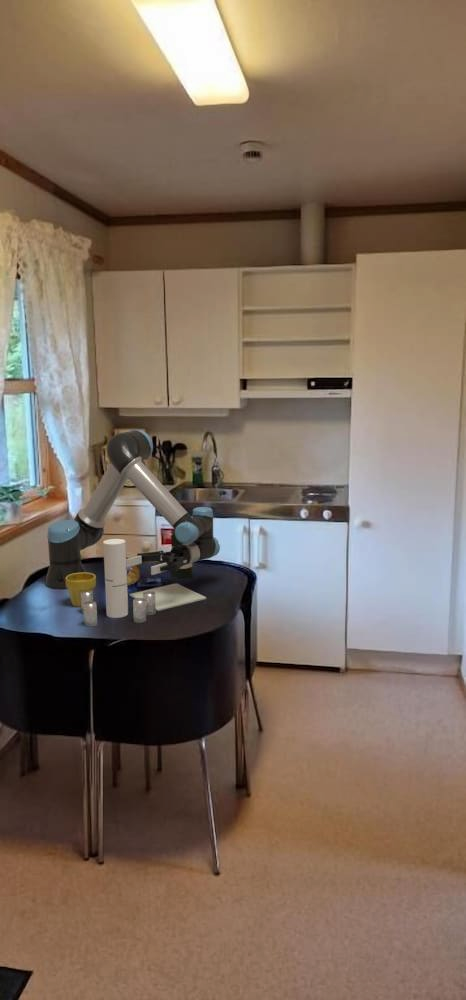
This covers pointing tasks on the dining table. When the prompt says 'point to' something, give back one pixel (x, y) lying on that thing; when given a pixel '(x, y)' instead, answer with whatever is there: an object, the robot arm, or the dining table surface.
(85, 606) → the lit candle cluster
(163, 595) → the sage board
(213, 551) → the robot arm
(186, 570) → the wine bottle
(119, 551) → the cylindrical container
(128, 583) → the croissant
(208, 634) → the dining table surface
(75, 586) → the plant pot
